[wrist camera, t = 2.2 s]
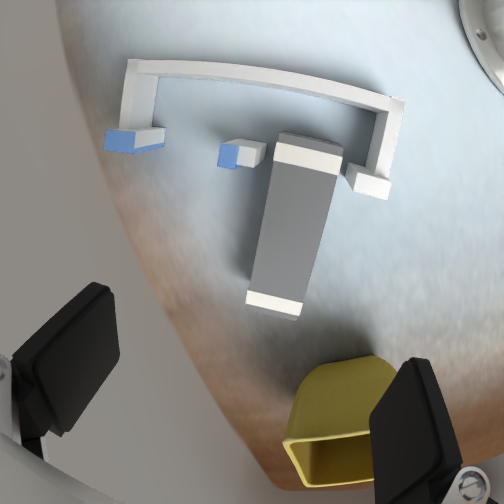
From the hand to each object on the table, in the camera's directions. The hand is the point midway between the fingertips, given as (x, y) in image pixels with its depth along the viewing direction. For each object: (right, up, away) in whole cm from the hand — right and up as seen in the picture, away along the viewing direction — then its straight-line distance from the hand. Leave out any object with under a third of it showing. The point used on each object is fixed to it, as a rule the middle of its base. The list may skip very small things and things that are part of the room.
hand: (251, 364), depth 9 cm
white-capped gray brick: (+3, +6, +11) cm, 13 cm away
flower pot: (+9, -8, +16) cm, 20 cm away
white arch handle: (0, +12, +9) cm, 15 cm away
